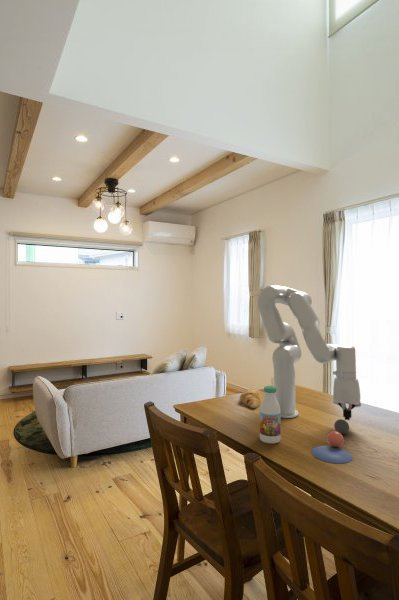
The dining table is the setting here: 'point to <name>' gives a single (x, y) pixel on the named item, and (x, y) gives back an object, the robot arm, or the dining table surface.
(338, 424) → the dark grey ball
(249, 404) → the croissant
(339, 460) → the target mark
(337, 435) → the red ball
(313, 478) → the dining table surface
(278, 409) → the milk bottle
